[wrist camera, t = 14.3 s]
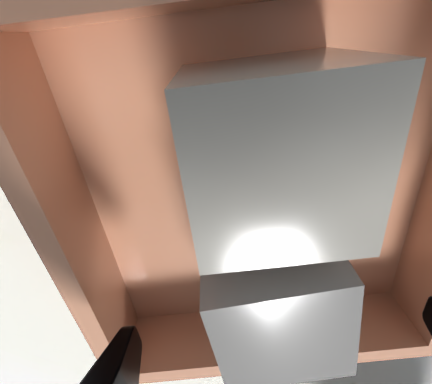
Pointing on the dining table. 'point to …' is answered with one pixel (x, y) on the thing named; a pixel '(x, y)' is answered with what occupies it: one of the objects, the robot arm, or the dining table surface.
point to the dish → (168, 164)
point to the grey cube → (284, 322)
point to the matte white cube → (291, 154)
